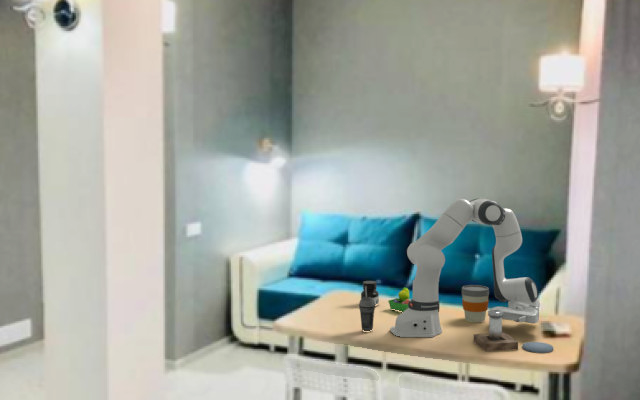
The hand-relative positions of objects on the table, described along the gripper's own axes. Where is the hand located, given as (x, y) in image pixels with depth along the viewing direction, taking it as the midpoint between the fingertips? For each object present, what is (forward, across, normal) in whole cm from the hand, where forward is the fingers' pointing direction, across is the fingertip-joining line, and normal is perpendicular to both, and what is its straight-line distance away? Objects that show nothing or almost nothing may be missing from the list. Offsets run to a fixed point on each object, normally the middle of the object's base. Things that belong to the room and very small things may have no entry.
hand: (507, 318), depth 298 cm
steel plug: (+12, 0, +8) cm, 15 cm away
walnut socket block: (+12, 0, +8) cm, 15 cm away
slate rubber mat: (+7, +15, +8) cm, 19 cm away
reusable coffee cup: (-20, -23, +8) cm, 32 cm away
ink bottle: (-15, -79, +8) cm, 81 cm away
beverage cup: (+24, -55, +8) cm, 60 cm away
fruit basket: (-15, -60, +8) cm, 62 cm away
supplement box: (-38, -11, +9) cm, 40 cm away
